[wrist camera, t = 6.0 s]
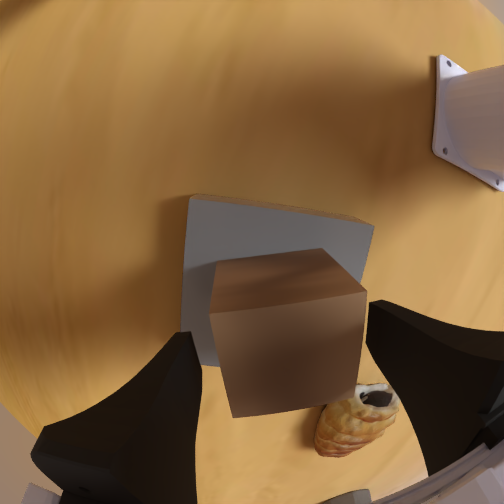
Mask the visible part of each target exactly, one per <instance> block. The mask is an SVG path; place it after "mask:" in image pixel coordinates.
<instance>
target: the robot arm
mask: <svg viewBox="0 0 504 504" xmlns="http://www.w3.org/2000/svg"><path fill="white" fill-rule="evenodd" d="M447 64H448V65H447ZM443 149H444V153H443ZM432 150H433V152H434V154H435V155H436V156H438V157H440V158H442V159H444V160H446V161H448V162H450V163H452V164H454V165H456V166H458V167H460V168H461V169H463V170H465V171H467V172H469V173H470V174H472V175H474V176H476V177H477V178H479V179H481V180H482V181H484V182H486V183H487V184H489V185H491V186H492V187H494V188H495V189H497V190H498V191H501V192H503V191H504V65H501V66H496V67H491V68H487V69H483V70H478V71H474V72H470V73H468V72H466V71H465V70H464V69H462V68H461V67H460V66H458V65H457V64H456V63H454V62H453V61H451V60H450V59H448V58H447V57H445V56H444V55H438V56H437V90H436V111H435V124H434V134H433V143H432ZM366 345H367V347H368V349H369V351H370V353H371V355H372V357H373V359H374V361H375V363H376V364H377V366H378V367H379V369H380V370H381V372H382V373H383V375H384V376H385V378H386V379H387V381H388V382H389V384H390V385H391V387H392V388H393V390H394V391H395V393H396V394H397V396H398V397H399V399H400V401H401V402H402V404H403V406H404V408H405V410H406V412H407V414H408V417H409V419H410V421H411V423H412V426H413V428H414V431H415V433H416V436H417V438H418V441H419V444H420V447H421V450H422V453H423V456H424V460H425V464H426V467H427V471H428V476H429V477H428V478H426V479H424V480H422V481H420V482H418V483H416V484H414V485H412V486H409V487H407V488H405V489H403V490H401V491H398V492H396V493H394V494H391V495H389V496H386V497H384V498H381V499H379V500H376V501H373V502H370V503H368V504H421V503H423V502H425V501H427V500H428V499H430V498H432V497H434V496H436V495H438V494H439V493H440V495H439V496H438V498H436V499H435V500H433V501H431V502H429V503H427V504H504V332H502V331H485V330H477V329H471V328H465V327H461V326H457V325H452V324H449V323H445V322H442V321H439V320H436V319H433V318H430V317H427V316H425V315H422V314H419V313H417V312H414V311H412V310H409V309H407V308H404V307H402V306H399V305H397V304H394V303H391V302H388V301H385V300H378V301H374V302H369V312H368V323H367V334H366ZM201 396H202V368H201V365H200V361H199V358H198V355H197V351H196V347H195V344H194V340H193V337H192V333H191V331H187V332H176V333H175V334H174V335H173V336H172V337H171V339H170V340H169V341H168V342H167V343H166V344H165V345H164V346H163V348H162V349H161V350H160V351H159V352H158V353H157V354H156V355H155V356H154V358H153V359H152V360H151V361H150V362H149V363H148V364H147V365H146V366H145V367H144V368H143V369H142V370H141V371H140V372H139V373H138V374H137V375H135V376H134V377H133V378H132V379H131V380H130V381H129V382H127V383H126V384H125V385H124V386H122V387H121V388H120V389H119V390H117V391H116V392H114V393H113V394H112V395H110V396H108V397H107V398H105V399H104V400H102V401H101V402H99V403H97V404H96V405H94V406H92V407H90V408H89V409H87V410H85V411H83V412H81V413H78V414H76V415H74V416H72V417H70V418H67V419H64V420H62V421H59V422H56V423H53V424H50V425H47V426H44V428H43V430H42V432H41V433H40V435H39V437H38V439H37V441H36V443H35V445H34V447H33V449H32V451H31V458H32V461H33V462H34V463H35V465H36V466H37V467H38V468H39V469H40V470H41V471H42V472H43V473H44V474H45V475H46V476H47V477H48V478H49V479H51V480H52V481H53V482H54V483H55V484H56V485H57V486H59V487H60V488H61V489H62V490H63V493H62V496H59V495H57V494H56V493H54V492H52V491H49V490H47V489H44V488H42V487H40V486H37V485H35V484H33V483H29V484H28V487H27V489H26V492H25V494H24V497H23V500H22V502H21V504H197V491H196V472H195V442H196V432H197V424H198V417H199V410H200V403H201ZM441 492H442V493H441Z"/></svg>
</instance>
